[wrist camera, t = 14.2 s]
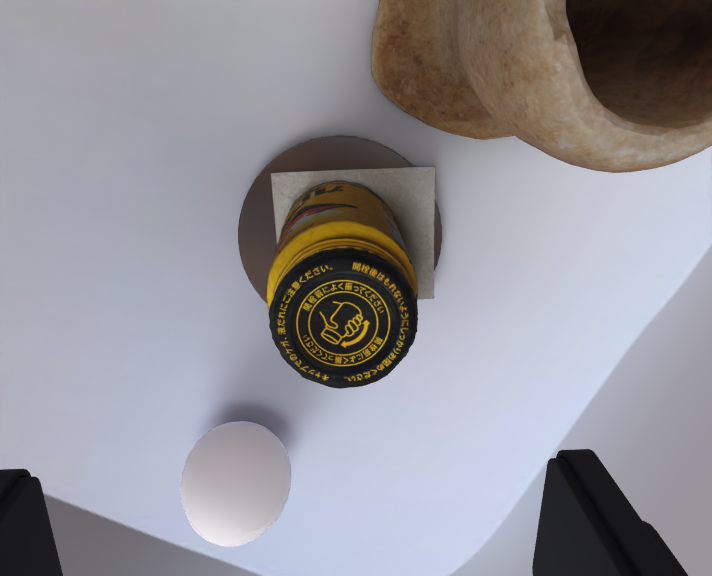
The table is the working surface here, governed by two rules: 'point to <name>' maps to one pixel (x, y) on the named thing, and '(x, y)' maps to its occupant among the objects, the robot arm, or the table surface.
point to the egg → (235, 483)
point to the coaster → (306, 156)
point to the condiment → (350, 269)
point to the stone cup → (555, 74)
